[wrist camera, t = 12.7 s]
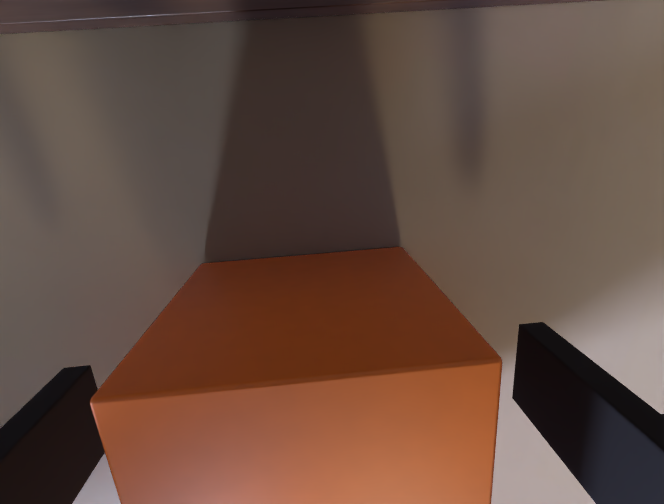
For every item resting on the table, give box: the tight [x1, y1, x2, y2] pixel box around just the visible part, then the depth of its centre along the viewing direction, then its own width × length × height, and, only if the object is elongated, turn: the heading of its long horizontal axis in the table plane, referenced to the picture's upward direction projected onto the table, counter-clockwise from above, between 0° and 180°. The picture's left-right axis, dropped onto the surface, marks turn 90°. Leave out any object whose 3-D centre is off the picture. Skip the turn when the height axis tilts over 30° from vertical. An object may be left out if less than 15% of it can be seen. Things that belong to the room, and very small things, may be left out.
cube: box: [90, 247, 502, 504], centre depth 11 cm, size 7×7×7 cm
